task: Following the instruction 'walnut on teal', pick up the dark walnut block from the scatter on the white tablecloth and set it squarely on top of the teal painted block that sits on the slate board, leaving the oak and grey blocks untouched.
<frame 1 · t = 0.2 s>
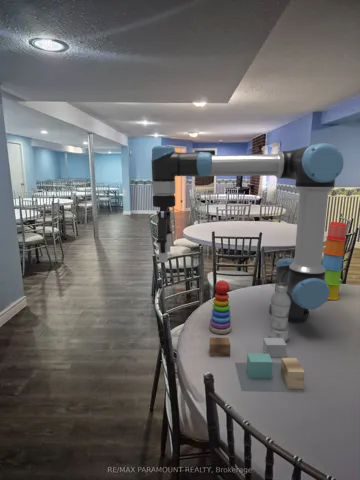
hand: (165, 256, 103), 28 cm above the table, fingers open, 13 cm apart
plastic bottle: (278, 340, 102), on the table
grey block: (273, 355, 93), on the table
walnut block: (219, 355, 94), on the table
oak block: (291, 381, 80), point 1 cm above the table, touching slate board
stacking toy: (220, 330, 109), on the table
stacking cups: (326, 296, 139), on the table
slate board: (266, 378, 83), on the table
teal block: (258, 373, 83), point 1 cm above the table, touching slate board
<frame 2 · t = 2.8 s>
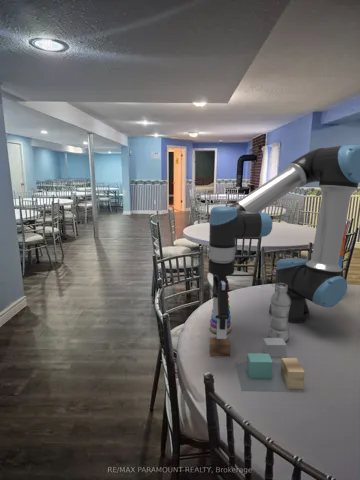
hand: (218, 326, 91), 10 cm above the table, fingers open, 13 cm apart
nothing on the table moved.
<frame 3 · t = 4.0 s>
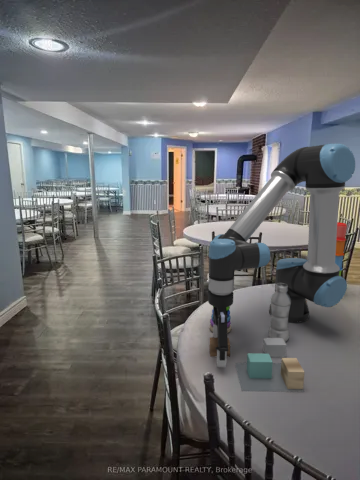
hand: (219, 354, 94), 0 cm above the table, fingers open, 13 cm apart
nothing on the table moved.
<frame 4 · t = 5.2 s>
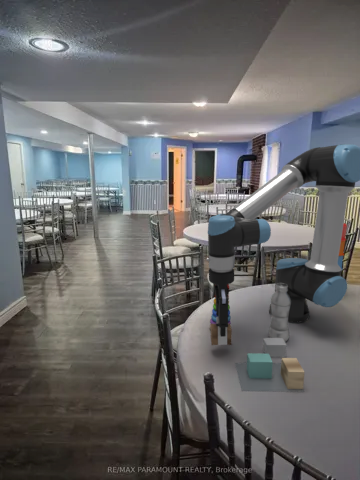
hand: (221, 339, 93), 5 cm above the table, fingers closed on walnut block, 4 cm apart
walnut block: (220, 341, 93), point 5 cm above the table, touching gripper
everything else where it was.
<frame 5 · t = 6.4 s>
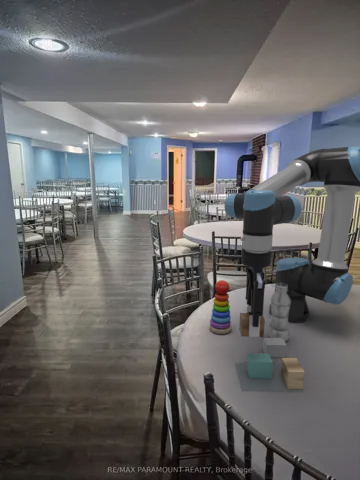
hand: (252, 331, 83), 13 cm above the table, fingers closed on walnut block, 4 cm apart
walnut block: (251, 333, 83), point 12 cm above the table, touching gripper
everything else where it was.
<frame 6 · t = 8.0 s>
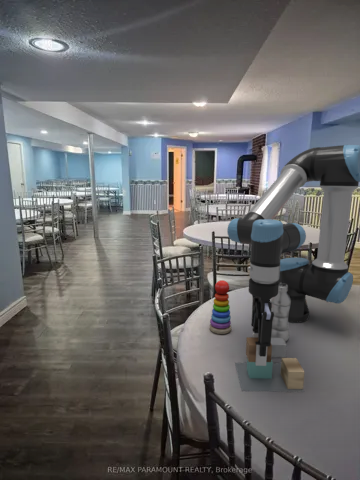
hand: (258, 359, 82), 5 cm above the table, fingers closed on teal block, walnut block, 4 cm apart
walnut block: (258, 357, 82), point 6 cm above the table, touching gripper, teal block
teal block: (258, 373, 83), point 1 cm above the table, touching gripper, slate board, walnut block
everything else where it was.
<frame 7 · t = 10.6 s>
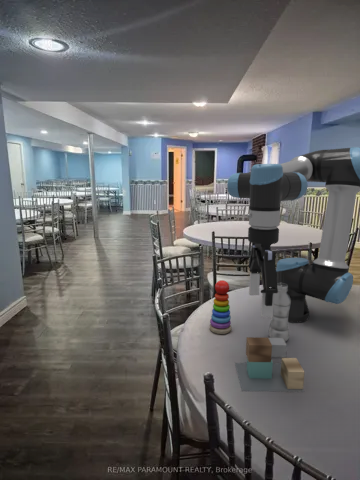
hand: (259, 304, 80), 21 cm above the table, fingers open, 13 cm apart
walnut block: (258, 357, 82), point 6 cm above the table, touching teal block
teal block: (258, 373, 83), point 1 cm above the table, touching slate board, walnut block
everything else where it was.
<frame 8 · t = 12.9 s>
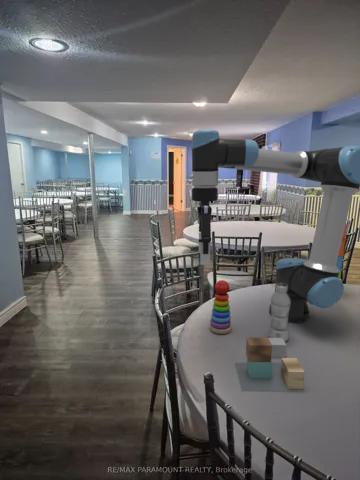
hand: (204, 258, 90), 31 cm above the table, fingers open, 13 cm apart
nothing on the table moved.
at the end: walnut block 0.5 cm off-centre on the teal block, point 5.0 cm above the teal block's base; oak block moved 0.0 cm from its start; grey block moved 0.1 cm from its start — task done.
